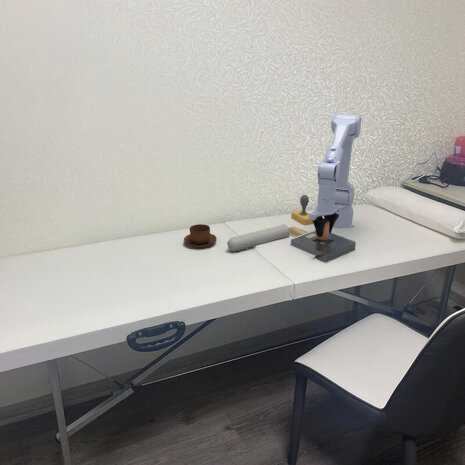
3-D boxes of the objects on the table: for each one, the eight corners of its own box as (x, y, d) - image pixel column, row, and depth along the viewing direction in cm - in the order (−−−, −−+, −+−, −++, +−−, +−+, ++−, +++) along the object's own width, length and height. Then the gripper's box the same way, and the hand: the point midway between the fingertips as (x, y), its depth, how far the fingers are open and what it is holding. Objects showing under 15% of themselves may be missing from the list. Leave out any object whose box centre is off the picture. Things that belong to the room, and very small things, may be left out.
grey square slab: (319, 236, 165) (320, 228, 164) (354, 249, 154) (355, 241, 153) (290, 247, 156) (290, 239, 155) (325, 262, 144) (326, 253, 143)
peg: (322, 235, 156) (323, 219, 154) (331, 238, 153) (331, 222, 151) (314, 238, 154) (315, 222, 152) (323, 241, 151) (324, 224, 149)
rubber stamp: (290, 220, 182) (292, 192, 177) (302, 218, 184) (303, 190, 180) (304, 227, 174) (306, 199, 169) (316, 225, 176) (318, 197, 171)
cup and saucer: (177, 246, 158) (176, 230, 155) (195, 235, 168) (194, 220, 165) (206, 252, 153) (205, 236, 150) (222, 240, 162) (222, 225, 160)
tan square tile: (293, 228, 173) (293, 226, 172) (308, 234, 167) (308, 232, 167) (278, 233, 168) (279, 231, 168) (294, 239, 162) (294, 237, 162)
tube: (231, 256, 152) (288, 240, 163) (233, 244, 148) (291, 229, 160) (223, 247, 155) (280, 232, 167) (225, 235, 152) (283, 221, 164)
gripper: (331, 190, 155) (328, 226, 160) (303, 198, 146) (301, 236, 151) (347, 195, 150) (343, 231, 155) (319, 204, 141) (316, 242, 146)
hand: (323, 234), depth 153 cm, fingers closed on peg, 4 cm apart
